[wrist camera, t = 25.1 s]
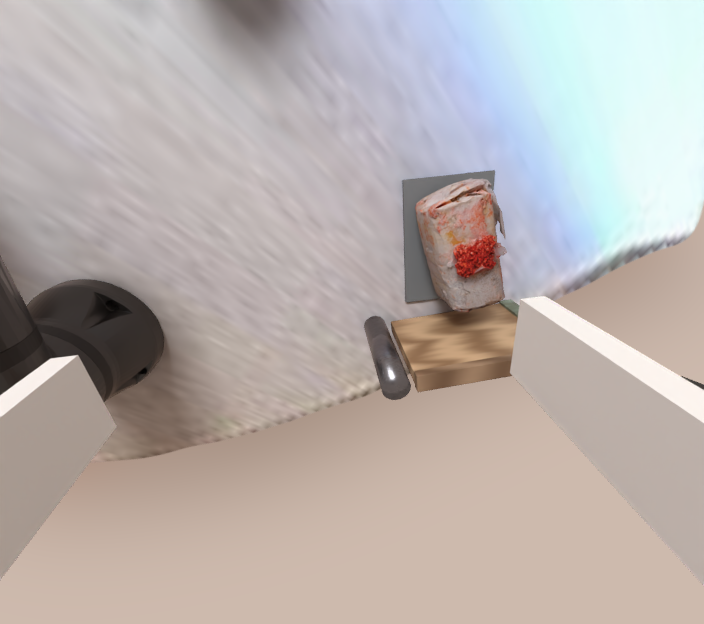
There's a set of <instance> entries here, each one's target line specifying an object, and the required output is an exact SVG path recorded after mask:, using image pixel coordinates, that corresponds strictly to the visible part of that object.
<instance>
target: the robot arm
mask: <svg viewBox="0 0 704 624" xmlns="http://www.w3.org/2000/svg"><path fill="white" fill-rule="evenodd" d="M163 343H164V342H163V334H162V330H161V327H160V325H159V323H158V321H157V319H156V318H155V316H154V315H153V313H152V312H151V311H150V310H149V308H148V307H147V306H146V305H145V304H144V303H143V302H141V301H140V300H139V299H138V298H136V297H135V296H134V295H132V294H131V293H129V292H127V291H125V290H124V289H121V288H119V287H117V286H115V285H112V284H109V283H105V282H101V281H96V280H72V281H67V282H63V283H61V284H58V285H56V286H54V287H52V288H50V289H47V290H45V291H43V292H42V293H40V294H39V295H37V296H36V297H35V298H33V299H32V300H31V301H30V303H29V304H28V305H27V306H26V305H25V303H24V301H23V299H22V297H21V295H20V293H19V291H18V289H17V288H16V286H15V284H14V282H13V280H12V278H11V276H10V274H9V272H8V270H7V268H6V266H5V264H4V262H3V260H2V258H1V256H0V579H1V578H2V577H3V576H4V574H5V573H6V572H7V571H8V569H9V568H10V567H11V565H12V564H13V563H14V561H15V560H16V559H17V557H18V556H19V554H20V553H21V552H22V551H23V549H24V548H25V547H26V546H27V544H28V543H29V542H30V540H31V539H32V538H33V536H34V535H35V534H36V532H37V531H38V530H39V529H40V527H41V526H42V524H43V523H44V522H45V521H46V519H47V518H48V517H49V515H50V514H51V513H52V511H53V510H54V509H55V508H56V506H57V505H58V504H59V502H60V501H61V500H62V498H63V497H64V496H65V494H66V493H67V492H68V490H69V489H70V488H71V487H72V485H73V484H74V483H75V481H76V480H77V479H78V477H79V476H80V475H81V473H82V472H83V471H84V469H85V468H86V467H87V466H88V464H89V463H90V462H91V460H92V459H93V458H94V456H95V455H96V454H97V452H98V451H99V450H100V448H101V447H102V446H103V445H104V443H105V442H106V441H107V439H108V438H109V437H110V435H111V434H112V433H113V431H114V430H115V429H116V427H117V426H116V424H115V422H114V420H113V419H112V417H111V415H110V413H109V411H108V409H107V407H106V406H105V404H104V402H105V401H106V400H107V399H109V398H111V397H112V396H114V395H116V394H118V393H120V392H122V391H124V390H125V389H127V388H129V387H131V386H133V385H135V384H136V383H138V382H140V381H141V380H142V379H144V378H145V377H146V376H147V375H148V374H149V373H150V372H151V370H152V369H153V368H154V367H155V365H156V364H157V363H158V361H159V359H160V357H161V355H162V352H163ZM510 374H511V375H512V376H513V377H514V378H515V379H516V380H517V381H518V382H519V384H520V385H521V386H522V387H523V388H524V389H525V390H526V391H527V392H528V393H529V395H531V397H532V398H533V399H534V400H535V401H536V402H537V403H538V404H539V406H540V407H541V408H542V409H543V410H544V411H545V412H546V413H547V414H548V415H549V416H550V418H551V419H552V420H553V421H554V422H555V423H556V424H557V425H558V426H559V427H560V428H561V430H562V431H563V432H564V433H565V434H566V435H567V436H568V437H569V438H570V439H571V441H572V442H573V443H574V444H575V445H576V446H577V447H578V448H579V449H580V450H581V452H582V453H583V454H584V455H585V456H586V457H587V458H588V459H589V460H590V461H591V463H592V464H593V465H594V466H595V467H596V468H597V469H598V470H599V471H600V473H601V474H602V475H603V476H604V477H605V478H606V479H607V480H608V481H609V482H610V484H611V485H612V486H613V487H614V488H615V489H616V490H617V491H618V492H619V493H620V494H621V495H622V497H623V498H624V499H625V500H626V501H627V502H628V503H629V504H630V505H631V506H632V508H633V509H634V510H635V511H636V512H637V513H638V514H639V515H640V516H641V518H642V519H643V520H644V521H645V522H646V523H647V524H648V525H649V526H650V527H651V529H652V530H653V531H654V532H655V533H656V534H657V535H658V536H659V537H660V538H661V539H662V541H663V542H664V543H665V544H666V545H667V546H668V547H669V548H670V549H671V551H672V552H673V553H674V554H675V555H676V556H677V557H678V558H679V559H680V560H681V561H682V563H683V564H684V565H685V566H686V567H687V568H688V569H689V570H690V571H691V572H692V574H693V575H694V576H695V577H696V578H697V579H698V580H699V581H700V582H701V583H702V585H703V586H704V385H703V384H701V383H698V382H695V381H693V380H690V379H688V378H685V377H683V376H679V375H677V374H676V373H674V372H672V371H670V370H669V369H667V368H665V367H664V366H662V365H660V364H659V363H657V362H655V361H653V360H652V359H650V358H648V357H647V356H645V355H643V354H642V353H640V352H638V351H637V350H635V349H633V348H632V347H630V346H628V345H626V344H625V343H623V342H621V341H620V340H618V339H616V338H615V337H613V336H611V335H610V334H608V333H606V332H604V331H602V330H601V329H599V328H598V327H596V326H594V325H593V324H591V323H589V322H588V321H586V320H584V319H582V318H581V317H579V316H577V315H576V314H574V313H572V312H570V311H569V310H567V309H565V308H564V307H562V306H560V305H559V304H557V303H555V302H554V301H552V300H550V299H549V298H547V297H545V296H541V297H533V298H525V299H520V305H519V312H518V319H517V326H516V333H515V340H514V347H513V354H512V361H511V368H510Z"/></svg>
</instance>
